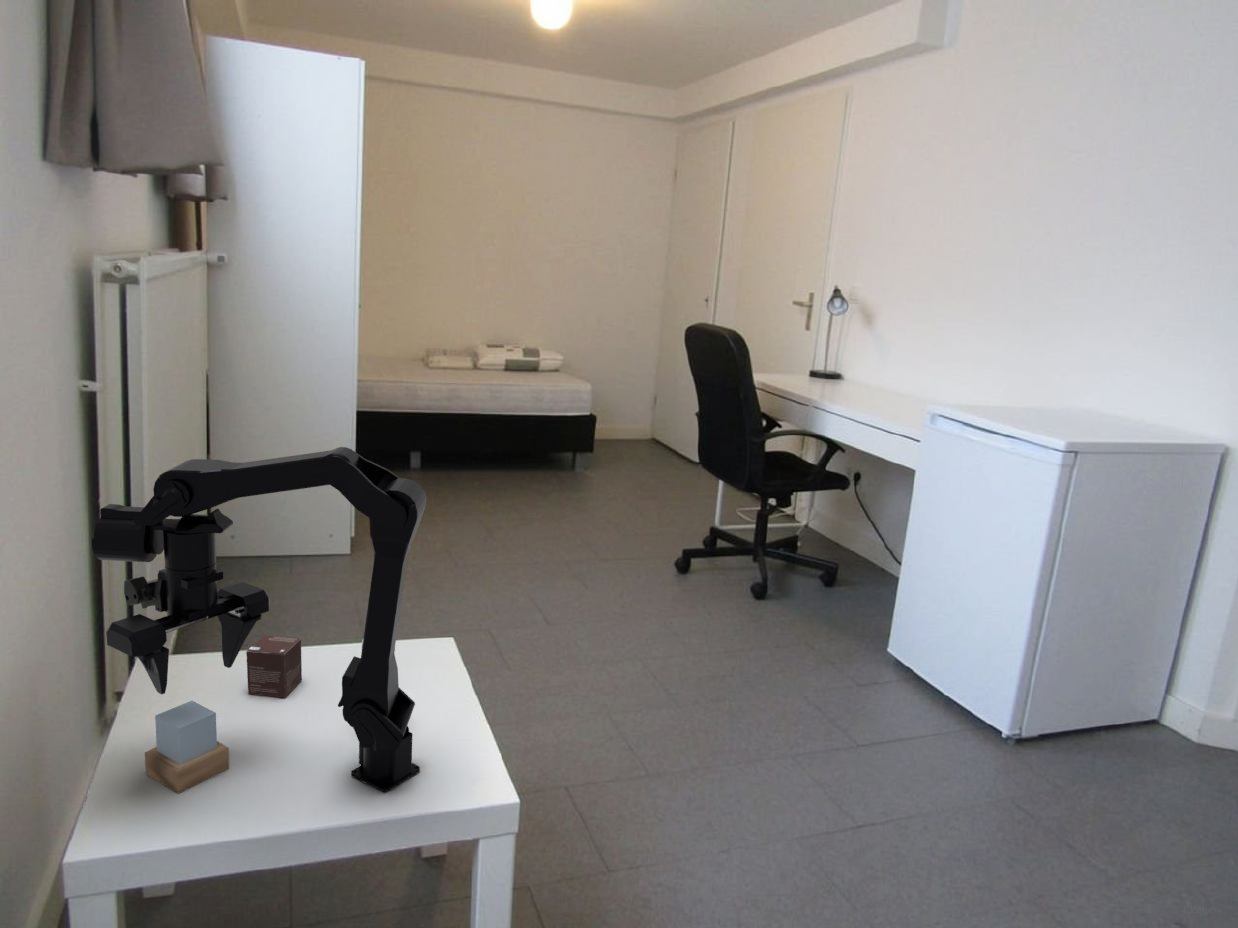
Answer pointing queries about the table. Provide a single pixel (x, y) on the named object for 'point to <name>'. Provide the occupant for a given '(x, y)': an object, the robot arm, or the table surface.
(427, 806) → the table surface
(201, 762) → the base block
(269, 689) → the box
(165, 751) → the blue cube
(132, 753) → the table surface
